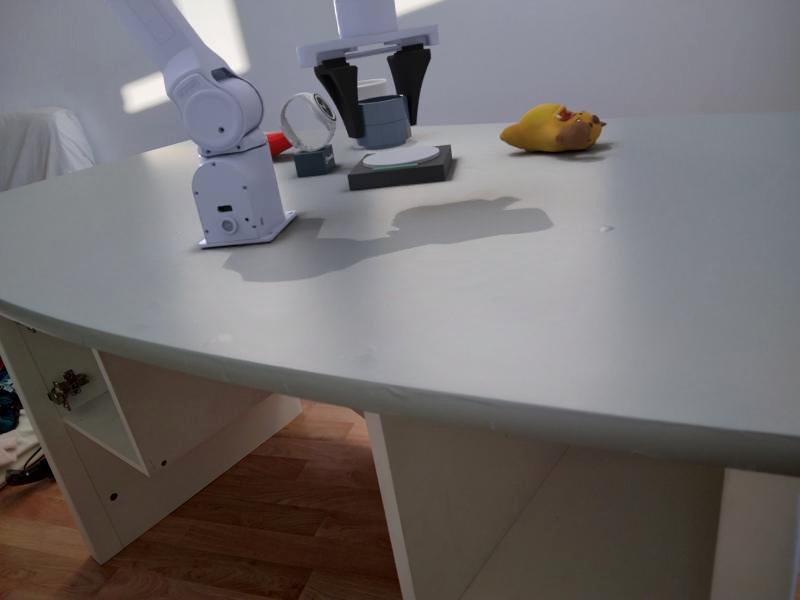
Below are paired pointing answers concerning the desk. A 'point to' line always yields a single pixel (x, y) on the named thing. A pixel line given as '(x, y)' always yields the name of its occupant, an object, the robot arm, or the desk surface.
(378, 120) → the blue cup
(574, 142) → the toy
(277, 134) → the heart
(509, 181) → the desk surface
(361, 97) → the dixie cup
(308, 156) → the watch
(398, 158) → the scale
